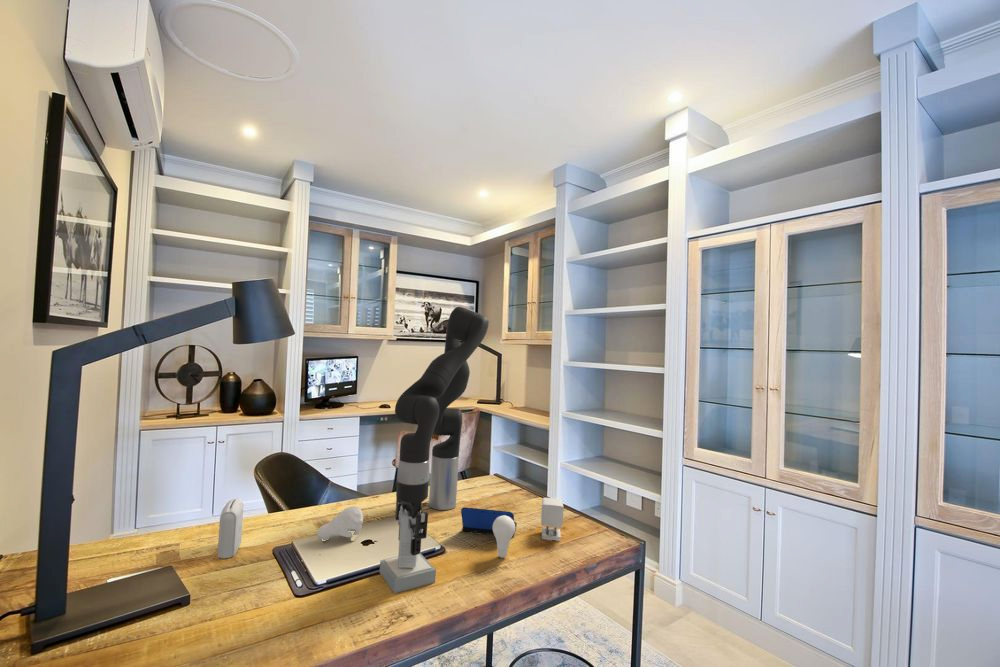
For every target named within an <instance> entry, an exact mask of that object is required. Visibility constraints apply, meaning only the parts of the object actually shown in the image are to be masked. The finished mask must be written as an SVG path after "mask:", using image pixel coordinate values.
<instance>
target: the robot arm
mask: <svg viewBox="0 0 1000 667" xmlns="http://www.w3.org/2000/svg"><path fill="white" fill-rule="evenodd" d="M489 323H490V321H489V318H487V317H486V315H483V314H481V313H478V312H476V311H473V310H470V309H468V308H466V307H462V306H457V307H455V308H454V309H453V310H452V311H451V313H450V315H449V316H448V321H447V325H446V330H445V331H446V332H445V341H444V342H445V343H444V353H442V354H440V355H439V356H437V357H436V358H434V359H433V360H432V361H431V362H430V364H429V365H428V367H427V368H426V369H425V371H424V372H423V374H422V376H421V377H420V378H418V380H417V381H415V382H413V384H411V385H410V386H409V387H408V388H407V389H405V391H404V392H402V394H400V396H399V397H398V398H397V401H396V403H395V407H394V414H395V417H396V419H397V421H400V422H402V423H405V424H411V425H416V426H417V428H416V431H415V432H409V433H405V434H403V435H402V437H401V438H400V443H399V444H400V445H399V457H398V458H399V459H398V460H399V461H398V464H397V465H398V466H397V474H396V475H397V476H396V490H395V491H396V492H395V497H396V498H395V499H396V500H395V501H396V503H395V521H397V526H398V527H399V528H398V537H399V536H400V519H401V514H402V512H403V511H405V515H406V516H408V523H409V524H408V529H410V531H411V552H410V553H411V554H412V555H417V554H420V553H421V547H422V540H424V539H426V538H427V534H428V533H427V532H428V520H429V513H428V511H423V502H424V501H426V500H427V499H428V507H430V508H431V509H433V510H437V511H448V510H452V509H454V508H456V506H457V495H458V479H459V478H458V477H459V458H460V443H461V436H462V435H461V433H462V427H463V426H462V424H463V414H462V410H461V409H460V408H455V407H453V408H452V407H449V406H450V405H451V404H453V403H454V402H455V401H456V400H458V399H459V398H460V397H461V396H462V395H464V393H465V391H466V389H467V387H468V384H469V383H468V382H469V378H470V374H471V373H470V372H471V371H470V366H469V363H468V359H469V358H470V357H471V356H472V355H473V353H474V352H475V351H476V350H477V348H478V347H479V346H480V345H481V343H482V342H483V340H484V339H485V337H486V334H487V332H488V329H489ZM461 342H463V343H462V344H461ZM448 407H449V408H448ZM433 435H435V436H449V437H448V438H447V439H446V440H444V441H442V442H439V443H437V444H435V445H434V446H432V450H431V452H430V448H431V442H432V438H433ZM430 453H431V466H430ZM409 516H411V517H412V518H413V519H414V518H415V516H416V518H415V520H416V524H412V523H411V519H409ZM414 528H415V532H414Z"/></svg>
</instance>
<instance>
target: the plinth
mask: <svg viewBox="0 0 1000 667" xmlns="http://www.w3.org/2000/svg"><path fill="white" fill-rule="evenodd" d="M436 573H437V569H436V568H435V567H434V565H432V564H431V563H430V562H429V561H428V560H427V558H425V556H424V555H423V554H422V553H421V552H420V554H418V557H417V562H416V567H415V568H399V567H398V555H397V556H394V557H393V556H392V557H388V558H385V559H380V561H379V574H380V575H381V577H382V578H383V580H384V581H385V583H386V584H387V585H388V587H389V589H390V590H391V591H392V592H393V594H397V593H401V592H405V591H408V590H412V589H416V588H420V587H424V586H427V585H432V584H434V583H436V578H437V577H436V576H437V575H436Z"/></svg>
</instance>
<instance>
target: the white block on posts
mask: <svg viewBox="0 0 1000 667" xmlns="http://www.w3.org/2000/svg"><path fill="white" fill-rule="evenodd" d="M540 514H541V515H540V516H541V517H540V518H541V519H540V522H541V523H540V524H541V526H544V527H542V528H541V540H543V539H547V540H546V541H552V540H556V541H555V542H561V539H562V538H561V537H562V536H561V529H560V528H562V527H563V525H564V502H563V499H561V498H556V497H555V498H554V497H543V498H542V500H541V513H540ZM558 528H559V529H558Z"/></svg>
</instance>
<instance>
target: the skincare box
mask: <svg viewBox="0 0 1000 667" xmlns="http://www.w3.org/2000/svg"><path fill="white" fill-rule="evenodd" d="M415 518H416V516H415ZM415 518H414V519H413V518H412V517H411V516H409V519H411V523H412V524H416V520H415ZM408 524H409V523H408V516H406V515H405V511H403V512H402V514H401V519H400V525H399V526H400V536H399V535H398V555H397V556H398V567H399V568H415V567H416V562H417V557H418V554H417V555H412V554H411V553H410V552H411V531H410V529H408ZM414 532H415V528H414Z"/></svg>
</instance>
